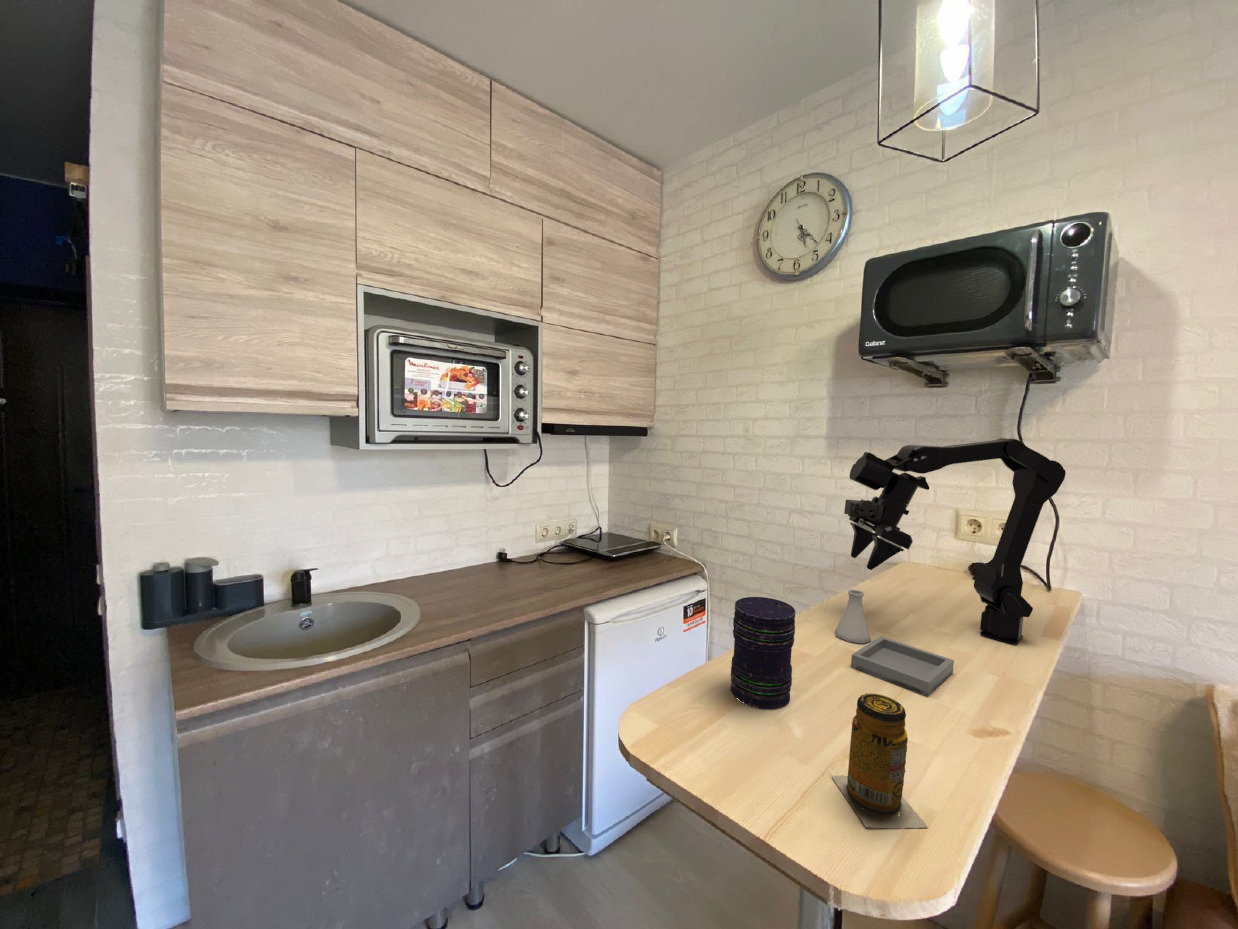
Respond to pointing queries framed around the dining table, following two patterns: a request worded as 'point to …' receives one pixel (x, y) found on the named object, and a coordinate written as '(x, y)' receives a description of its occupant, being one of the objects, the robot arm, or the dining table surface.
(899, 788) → the condiment
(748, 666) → the storage jar
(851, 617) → the flask
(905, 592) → the dining table surface
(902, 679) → the tray
